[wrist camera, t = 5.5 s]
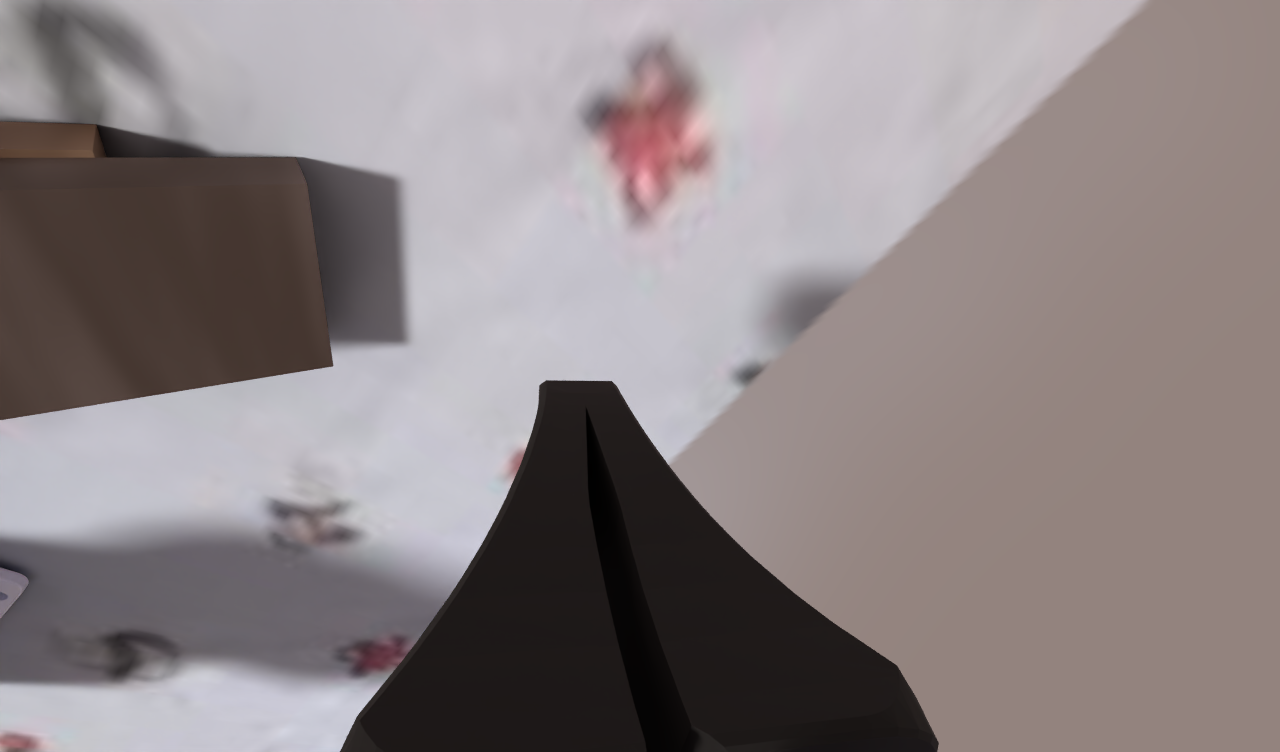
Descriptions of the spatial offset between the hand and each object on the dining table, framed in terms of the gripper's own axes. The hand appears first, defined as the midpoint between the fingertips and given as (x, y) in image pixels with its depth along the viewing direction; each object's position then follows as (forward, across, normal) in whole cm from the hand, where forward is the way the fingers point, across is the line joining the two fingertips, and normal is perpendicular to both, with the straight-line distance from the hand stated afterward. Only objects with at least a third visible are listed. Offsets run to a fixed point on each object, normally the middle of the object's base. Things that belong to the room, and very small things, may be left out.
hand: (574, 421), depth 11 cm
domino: (+6, +6, 0) cm, 9 cm away
